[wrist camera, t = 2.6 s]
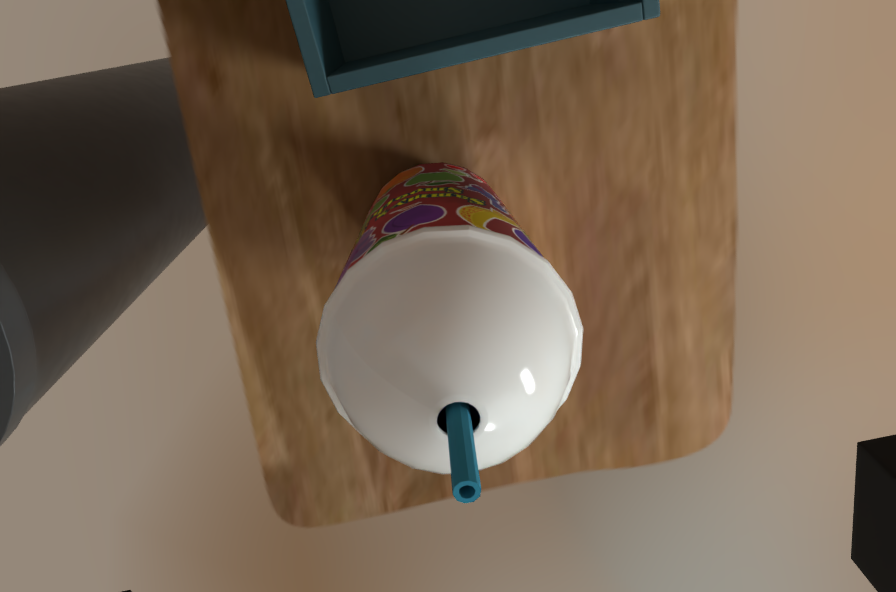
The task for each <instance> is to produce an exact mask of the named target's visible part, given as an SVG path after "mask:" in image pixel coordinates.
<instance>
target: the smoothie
mask: <svg viewBox="0 0 896 592" xmlns="http://www.w3.org/2000/svg"><path fill="white" fill-rule="evenodd" d="M582 340H583V326H582V323H581V320H580V316H579V313H578V310H577V307H576V304H575V300H574V297H573V294H572V292H571V290H570V289H569V288H568V287H567V285H566V284H565V283H564V281H563V280H562V279H561V277H560V276H559V275H558V273H557V272H556V271H555V270H554V268H553V267H552V266H551V264H550V263H549V262H548V261H547V260H546V259H545V258H544V257H543V256H542V255H541V253H540V252H539V251H538V249H537V248H536V247H535V245H534V244H533V243H532V241H531V240H530V239H529V237H528V236H527V235H526V233H525V232H524V231H523V229H522V228H521V227H520V225H519V224H518V223H517V221H516V220H515V219H514V218H513V216H512V215H511V214H510V212H509V211H508V210H507V208H506V207H505V206H504V204H503V203H502V202H501V200H500V199H499V198H498V196H497V195H496V194H495V192H494V191H493V190H492V189H491V188H490V186H489V185H488V184H487V183H486V182H485V180H484V179H482V178H481V177H479V176H477V175H476V174H474V173H473V172H471V171H469V170H468V169H466V168H464V167H460V166H455V165H451V164H447V163H431V164H420V165H417V166H415V167H413V168H410V169H408V170H405V171H403V172H401V173H399V174H398V175H396V176H395V177H394V178H393V179H392V180H391V181H389V182H388V183H387V184H386V185H385V186H384V187H382V189H381V191H380V192H379V194H378V196H377V198H376V199H375V201H374V203H373V204H372V206H371V209H370V211H369V213H368V215H367V218H366V220H365V222H364V224H363V227H362V229H361V231H360V233H359V236H358V238H357V240H356V242H355V245H354V247H353V249H352V251H351V254H350V256H349V258H348V260H347V262H346V265H345V267H344V269H343V271H342V274H341V276H340V278H339V280H338V283H337V285H336V287H335V289H334V291H333V293H332V295H331V296H330V298H329V299H328V301H327V302H326V304H325V305H324V309H323V314H322V318H321V322H320V327H319V331H318V336H317V340H316V348H317V356H318V363H319V371H320V379H321V381H322V383H323V385H324V387H325V389H326V391H327V393H328V395H329V396H330V398H331V400H332V402H333V404H334V406H335V408H336V410H337V412H338V413H339V414H340V415H341V416H342V417H343V418H344V419H346V420H347V421H348V422H349V423H350V424H351V425H352V426H353V427H354V428H355V429H356V430H357V431H358V432H359V433H360V434H361V435H362V436H363V437H364V438H365V439H367V440H368V441H369V442H370V443H371V444H372V445H373V446H374V447H375V448H376V449H377V450H378V451H380V452H382V453H383V454H385V455H387V456H389V457H391V458H393V459H395V460H397V461H399V462H401V463H403V464H405V465H407V466H409V467H411V468H413V469H418V470H423V471H428V472H433V473H438V474H451V480H452V491H453V496H454V497H455V498H456V500H457V501H460V502H463V503H469V502H474V501H475V500H476V499H477V498H479V497H480V493H481V484H480V477H479V470H483V469H486V468H489V467H492V466H495V465H498V464H501V463H503V462H505V461H506V460H508V459H510V458H511V457H513V456H514V455H516V454H517V453H519V452H520V451H522V450H523V449H525V448H526V447H528V446H529V445H530V444H531V443H532V442H533V441H534V440H535V439H536V438H537V437H538V436H539V434H540V433H541V432H542V431H543V430H544V429H545V427H546V426H547V425H548V424H549V423H550V422H551V421H552V419H553V418H554V416H555V414H556V412H557V410H558V409H559V407H560V406H561V405H562V404H563V403H564V402H565V401H566V399H567V397H568V395H569V393H570V390H571V388H572V385H573V383H574V380H575V378H576V376H577V373H578V371H579V368H580V366H581V356H582Z"/></svg>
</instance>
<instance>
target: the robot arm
mask: <svg viewBox="0 0 896 592" xmlns="http://www.w3.org/2000/svg"><path fill="white" fill-rule="evenodd" d="M856 460H857V461H856V477H855V495H854V496H855V497H854V514H853V531H852V549H851V559H852V560H853V561H854V563H855V564H856V565H857V566H858V568H859V569H860V570H861V571H862V573H863V574H864V575H865V576H866V578H867V579H868V580H869V581H870V583H871V584H872V585H873V586H874V588H875V589H876V590H877V591H878V592H896V435H891V436H886V437H881V438H877V439H871V440H866V441H861V442H858V443H857V459H856ZM122 592H131V590H127V591H122Z"/></svg>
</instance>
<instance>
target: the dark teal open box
mask: <svg viewBox="0 0 896 592" xmlns="http://www.w3.org/2000/svg"><path fill="white" fill-rule="evenodd" d="M286 3H287V7H288V10H289V14H290V17H291V20H292V24H293V27H294V31H295V34H296V37H297V41H298V44H299V48H300V51H301V54H302V58H303V61H304V65H305V68H306V71H307V75H308V78H309V81H310V85H311V88H312V92H313V95H314V97H315V98H318V97H322V96H326V95H330V94H335V93H339V92H343V91H347V90H351V89H356V88H360V87H364V86H368V85H373V84H377V83H381V82H385V81H389V80H394V79H398V78H402V77H406V76H411V75H415V74H419V73H423V72H427V71H432V70H436V69H440V68H444V67H449V66H453V65H457V64H461V63H466V62H470V61H474V60H478V59H482V58H487V57H491V56H495V55H499V54H504V53H508V52H512V51H516V50H520V49H525V48H529V47H533V46H537V45H542V44H546V43H550V42H554V41H558V40H563V39H567V38H571V37H575V36H580V35H584V34H588V33H592V32H596V31H601V30H605V29H609V28H613V27H618V26H622V25H626V24H630V23H634V22H639V21H642V20H647V19H651V18H655V17H659V16H660V5H659V0H286Z"/></svg>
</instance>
